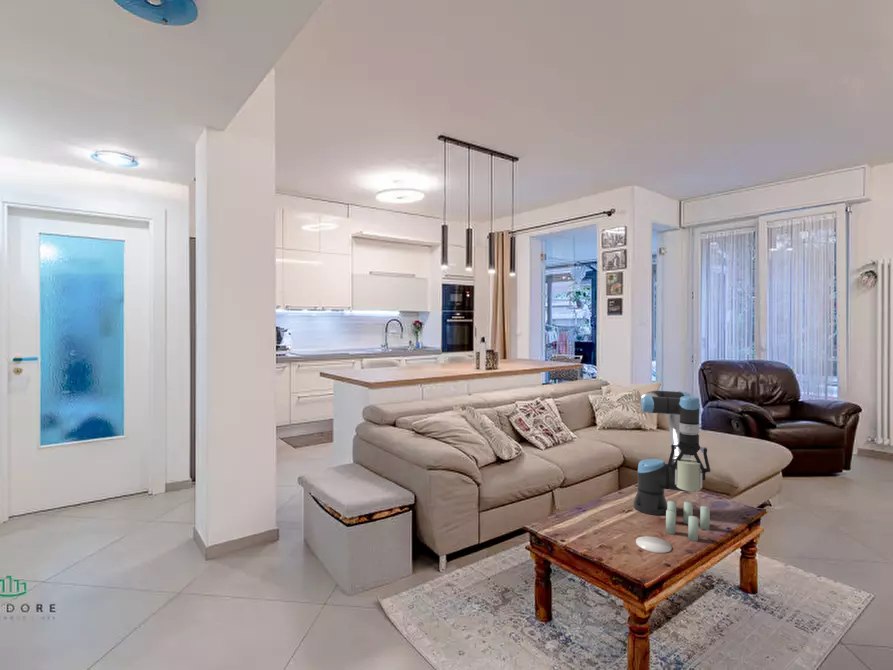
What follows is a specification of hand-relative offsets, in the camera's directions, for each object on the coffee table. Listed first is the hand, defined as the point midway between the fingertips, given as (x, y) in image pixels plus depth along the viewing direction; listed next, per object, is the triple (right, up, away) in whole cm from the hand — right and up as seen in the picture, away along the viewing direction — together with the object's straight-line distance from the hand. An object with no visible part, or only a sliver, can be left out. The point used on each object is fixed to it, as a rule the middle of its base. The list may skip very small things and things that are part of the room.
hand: (688, 485), depth 200 cm
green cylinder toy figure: (0, -1, 0) cm, 1 cm away
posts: (0, -19, 0) cm, 19 cm away
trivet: (-21, -19, -13) cm, 32 cm away
